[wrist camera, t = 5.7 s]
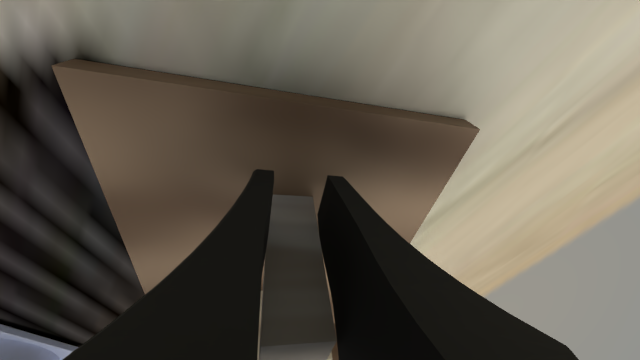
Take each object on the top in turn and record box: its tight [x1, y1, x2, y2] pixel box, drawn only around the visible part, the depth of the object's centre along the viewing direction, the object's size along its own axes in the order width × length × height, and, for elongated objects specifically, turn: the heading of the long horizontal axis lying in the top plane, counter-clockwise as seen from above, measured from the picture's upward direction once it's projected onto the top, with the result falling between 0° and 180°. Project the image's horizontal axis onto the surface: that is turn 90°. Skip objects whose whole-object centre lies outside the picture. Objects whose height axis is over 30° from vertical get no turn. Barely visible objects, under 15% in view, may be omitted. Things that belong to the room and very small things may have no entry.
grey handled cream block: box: [257, 195, 337, 360], centre depth 13 cm, size 14×6×6 cm, turn 169°
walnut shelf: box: [51, 59, 480, 360], centre depth 14 cm, size 28×15×7 cm, turn 169°
